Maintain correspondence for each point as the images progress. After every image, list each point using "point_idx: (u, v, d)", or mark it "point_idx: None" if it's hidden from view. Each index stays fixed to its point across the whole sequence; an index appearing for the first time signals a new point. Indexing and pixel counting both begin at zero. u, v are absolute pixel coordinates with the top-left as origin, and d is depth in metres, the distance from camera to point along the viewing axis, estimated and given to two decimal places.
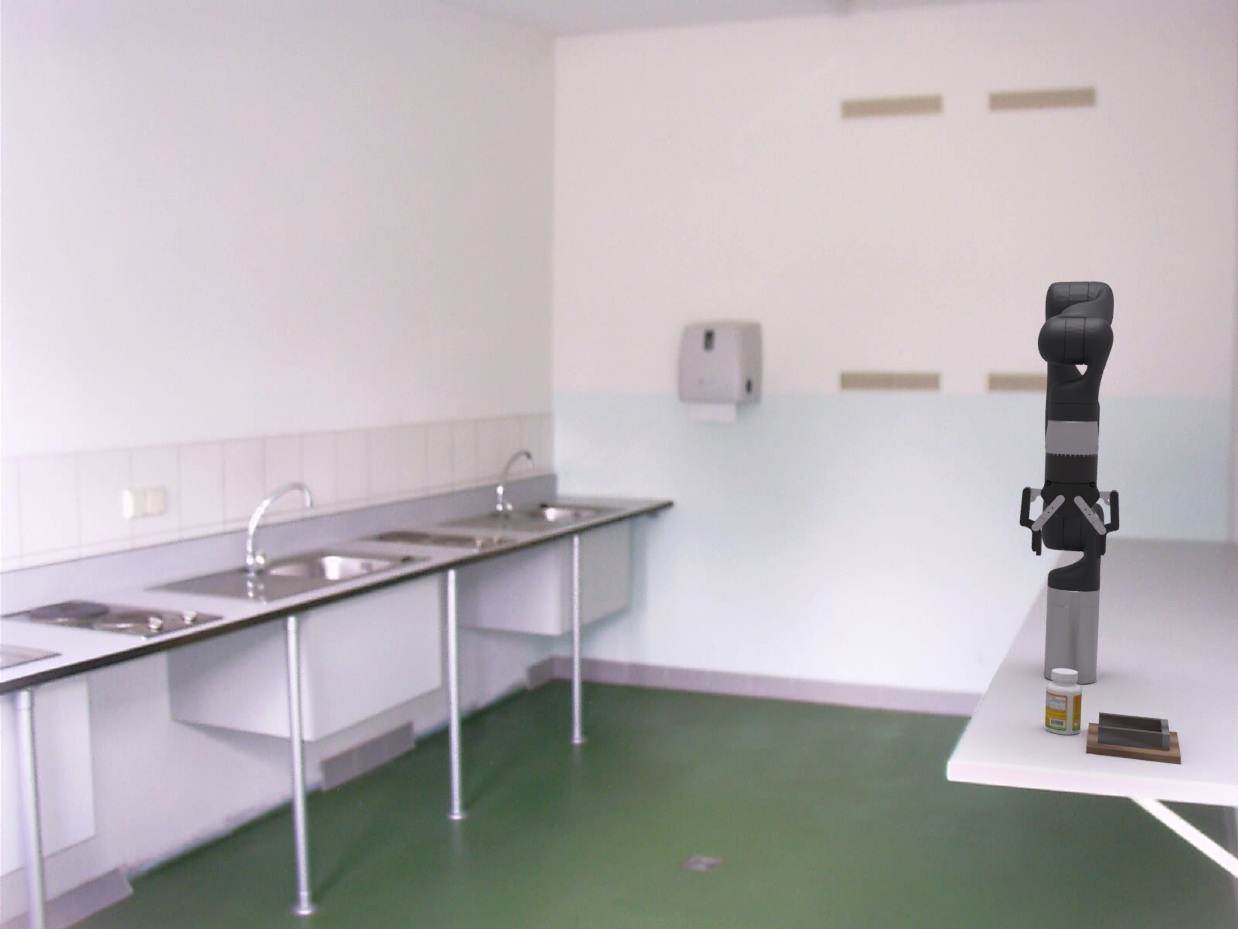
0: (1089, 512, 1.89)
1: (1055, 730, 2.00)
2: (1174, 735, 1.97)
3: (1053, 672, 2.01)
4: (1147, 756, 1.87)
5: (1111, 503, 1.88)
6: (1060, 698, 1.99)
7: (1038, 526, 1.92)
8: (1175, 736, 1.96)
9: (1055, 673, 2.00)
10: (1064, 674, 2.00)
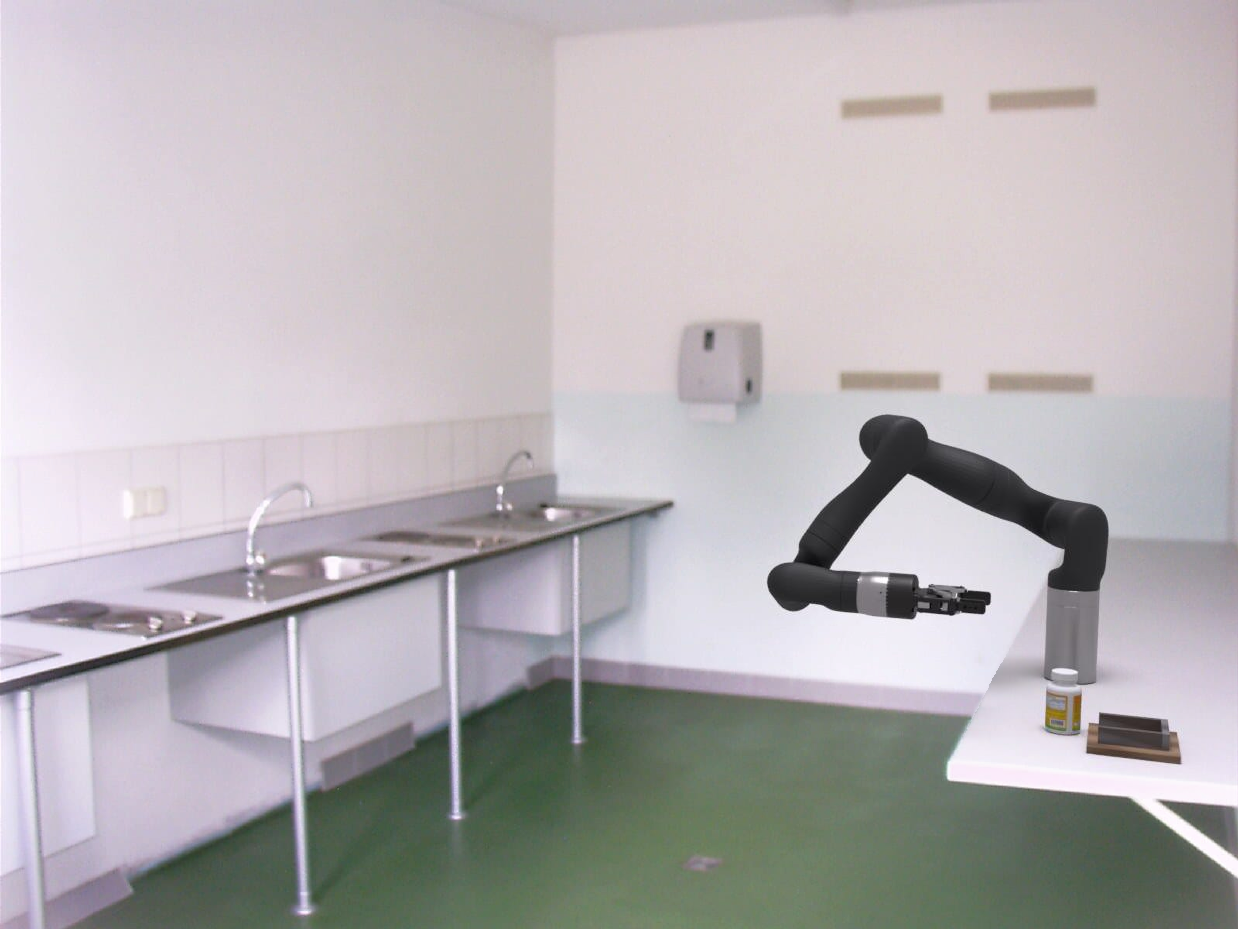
0: None
1: (1055, 730, 2.00)
2: (1174, 735, 1.97)
3: (1053, 672, 2.01)
4: (1147, 756, 1.87)
5: None
6: (1060, 698, 1.99)
7: None
8: (1175, 736, 1.96)
9: (1055, 673, 2.00)
10: (1064, 674, 1.99)
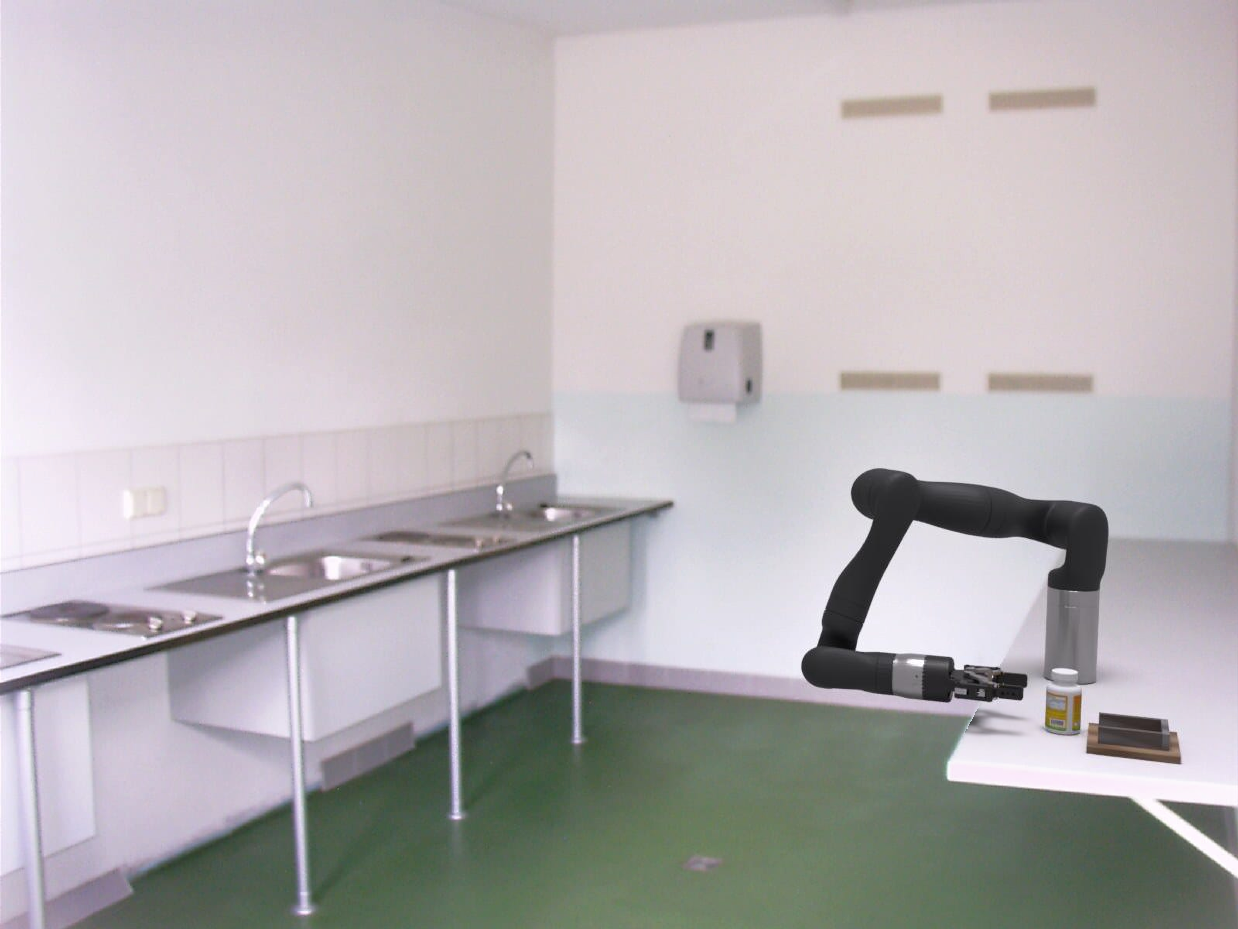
0: None
1: (1055, 730, 2.00)
2: (1174, 735, 1.97)
3: (1053, 672, 2.01)
4: (1147, 756, 1.87)
5: None
6: (1060, 697, 1.99)
7: (998, 685, 2.09)
8: (1175, 736, 1.96)
9: (1055, 673, 2.00)
10: (1064, 674, 2.00)
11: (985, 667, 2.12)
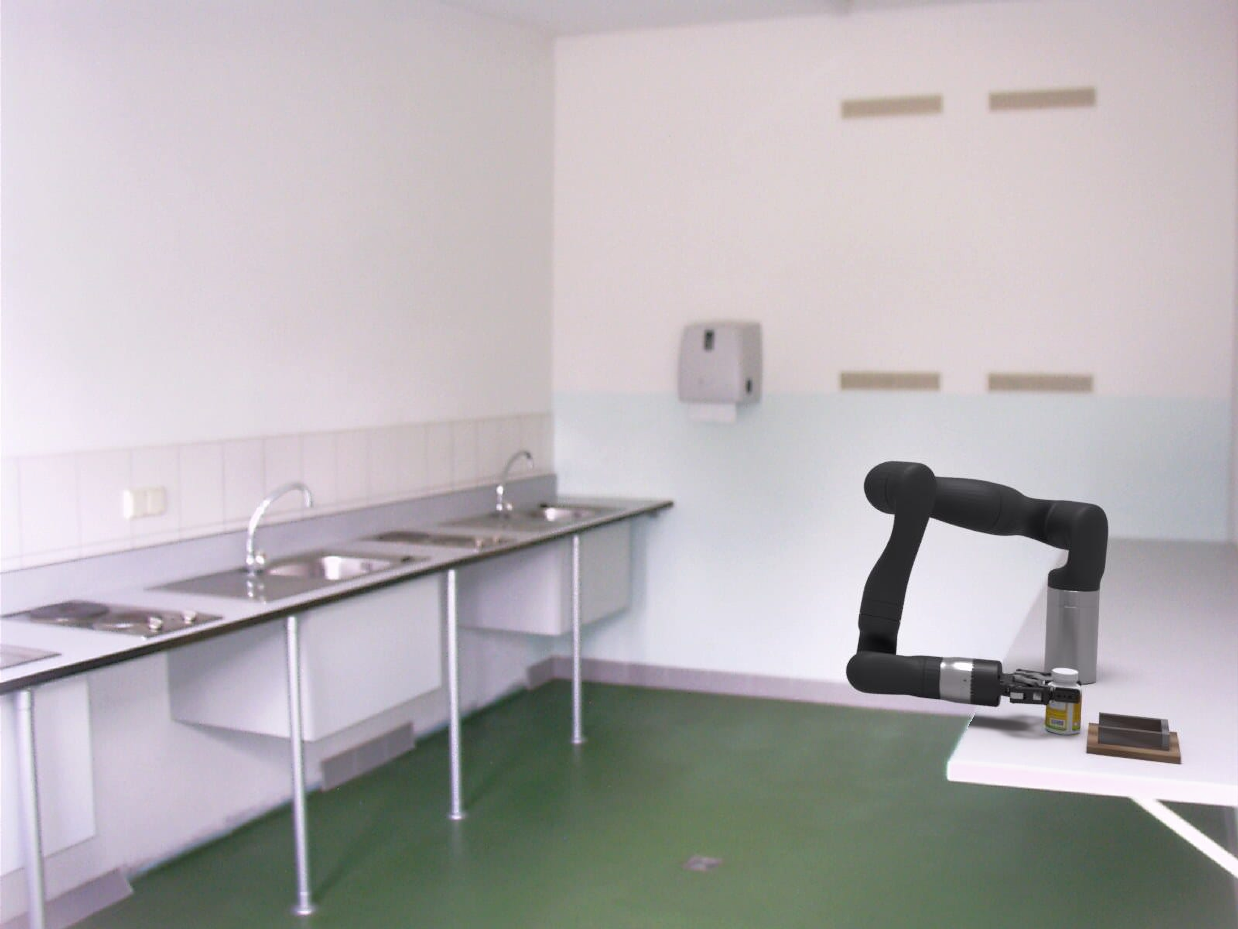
0: None
1: (1055, 730, 2.00)
2: (1174, 735, 1.97)
3: (1053, 672, 2.01)
4: (1147, 756, 1.87)
5: None
6: None
7: None
8: (1175, 736, 1.96)
9: (1055, 673, 2.00)
10: (1064, 674, 1.99)
11: (1037, 672, 2.08)
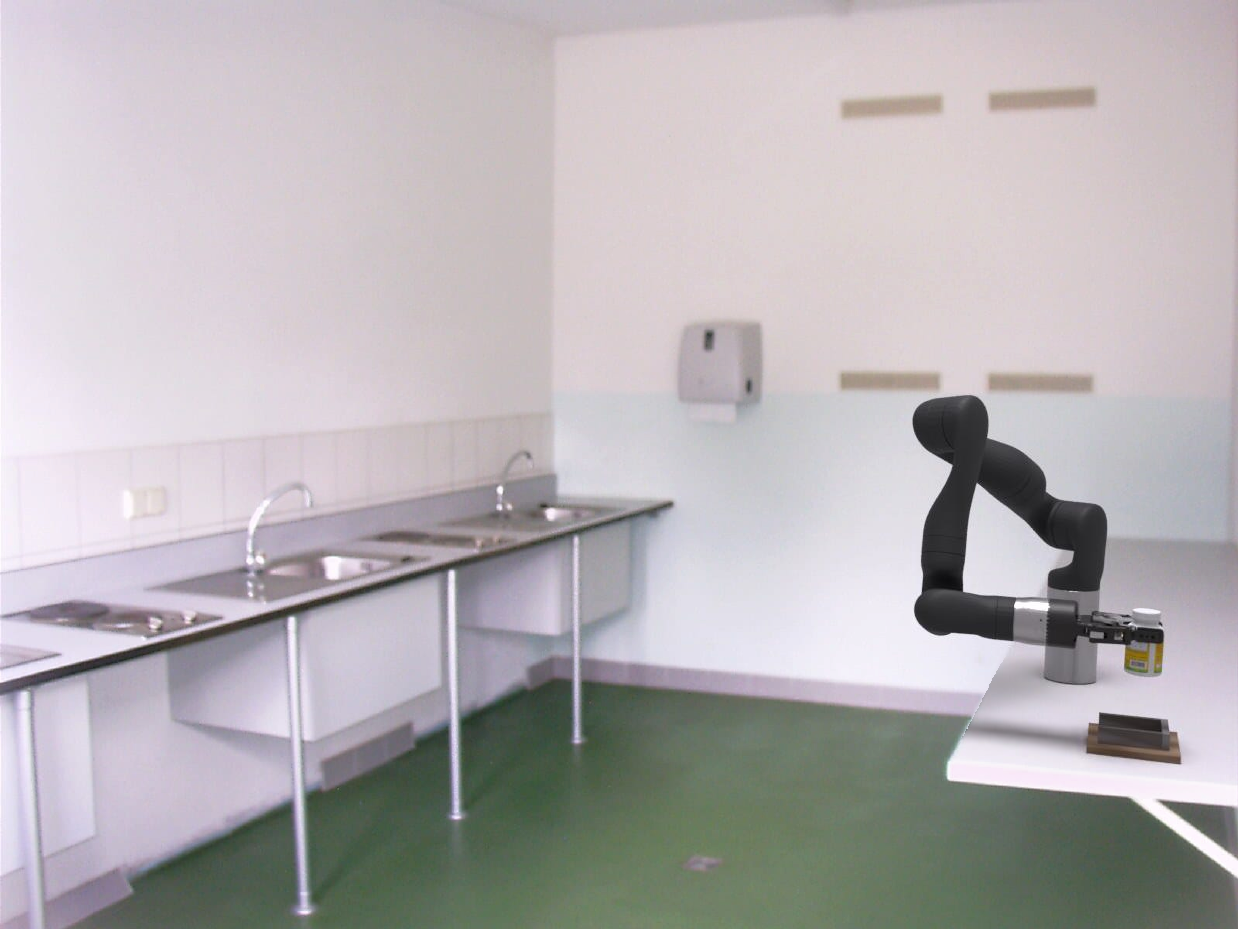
0: None
1: (1136, 672, 1.91)
2: (1174, 735, 1.97)
3: (1135, 612, 1.92)
4: (1147, 756, 1.87)
5: None
6: None
7: None
8: (1175, 736, 1.96)
9: (1137, 613, 1.91)
10: (1147, 613, 1.90)
11: None
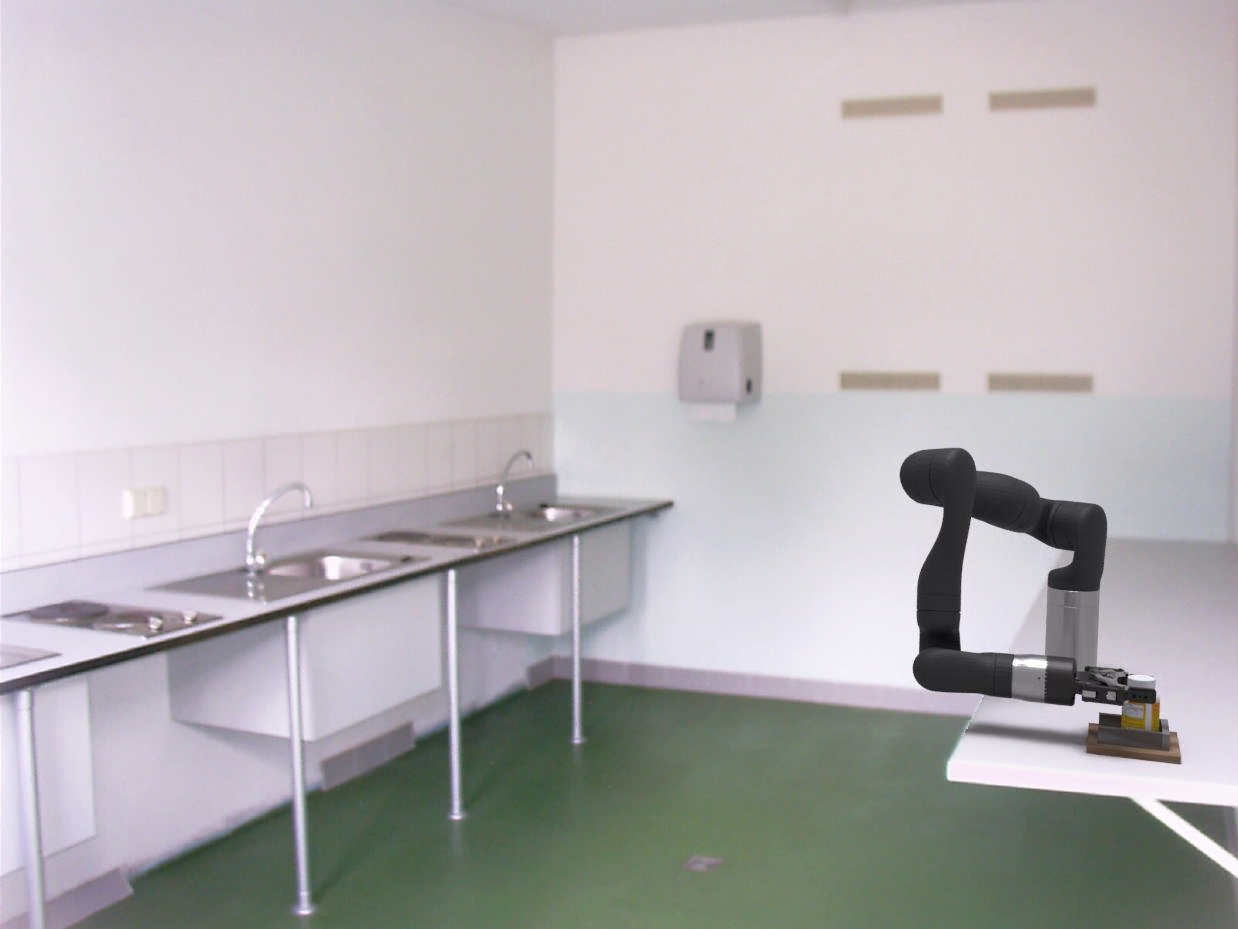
0: None
1: None
2: (1174, 735, 1.97)
3: (1129, 679, 1.93)
4: (1147, 756, 1.87)
5: None
6: (1137, 705, 1.91)
7: None
8: (1175, 736, 1.96)
9: (1132, 680, 1.92)
10: (1142, 681, 1.91)
11: (1108, 669, 2.01)
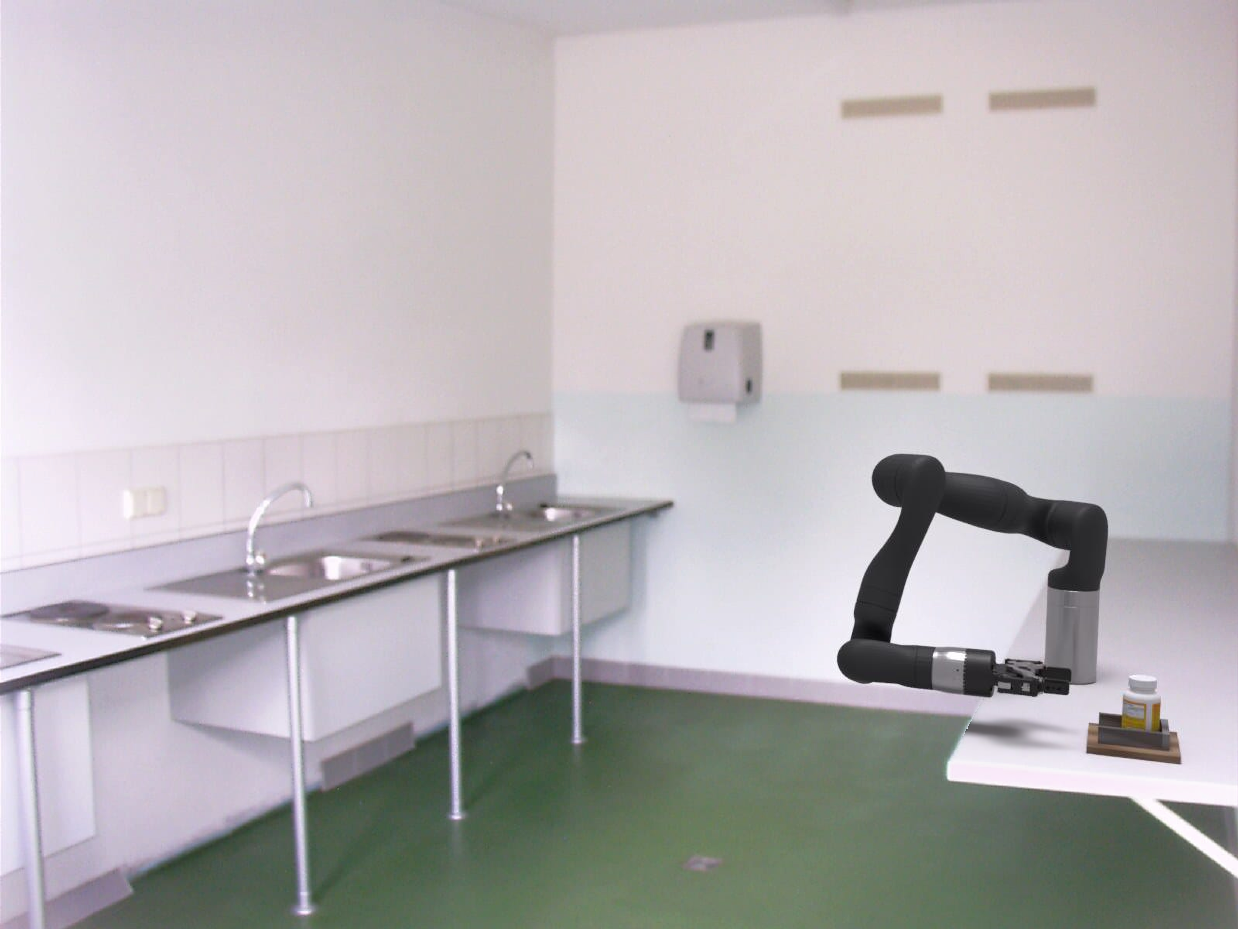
0: None
1: None
2: (1174, 735, 1.97)
3: (1131, 679, 1.93)
4: (1147, 756, 1.87)
5: None
6: (1138, 705, 1.91)
7: None
8: (1175, 736, 1.96)
9: (1133, 680, 1.92)
10: (1143, 681, 1.91)
11: (1027, 661, 2.05)
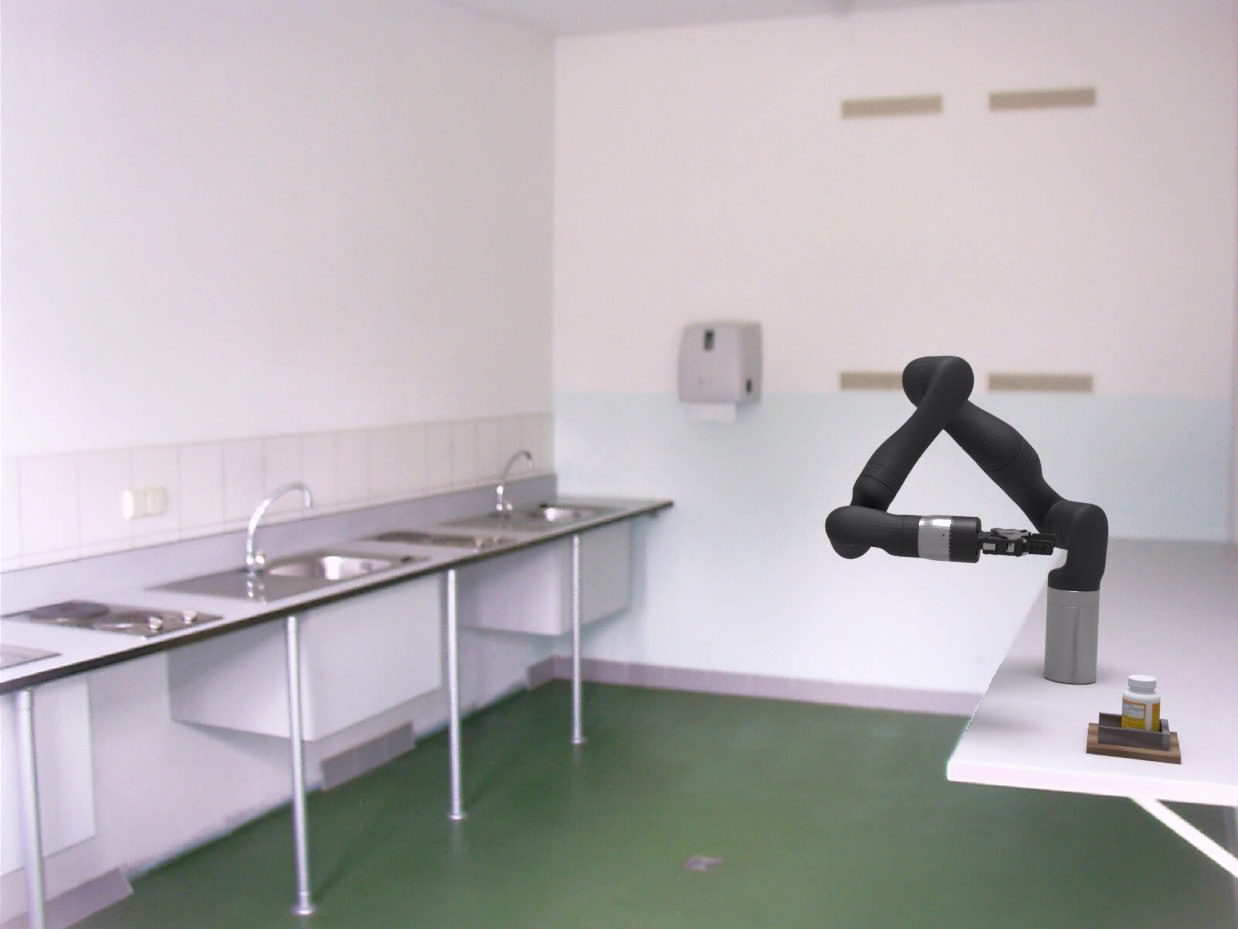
0: None
1: None
2: (1174, 735, 1.97)
3: (1130, 679, 1.93)
4: (1147, 756, 1.87)
5: None
6: (1138, 706, 1.91)
7: None
8: (1175, 736, 1.96)
9: (1132, 680, 1.92)
10: (1142, 681, 1.91)
11: None
